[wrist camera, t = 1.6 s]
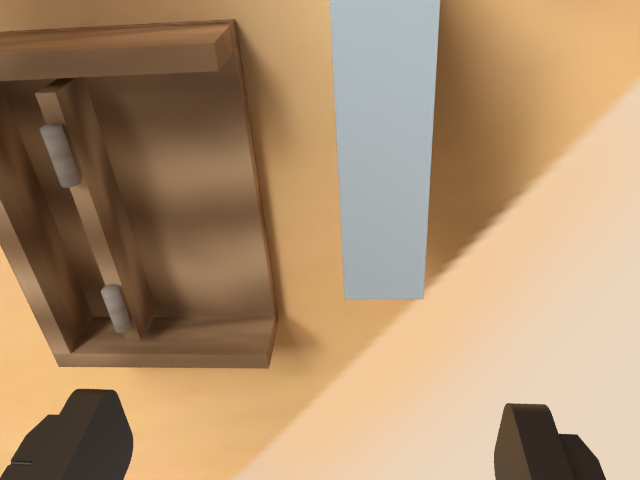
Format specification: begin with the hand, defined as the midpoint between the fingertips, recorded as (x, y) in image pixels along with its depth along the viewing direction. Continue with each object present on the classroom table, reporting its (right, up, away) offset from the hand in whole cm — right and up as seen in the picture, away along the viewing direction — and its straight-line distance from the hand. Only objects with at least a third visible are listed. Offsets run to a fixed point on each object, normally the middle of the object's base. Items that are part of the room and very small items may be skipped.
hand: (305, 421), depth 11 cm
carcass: (-10, +6, +22) cm, 25 cm away
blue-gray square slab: (+3, +13, +16) cm, 21 cm away
